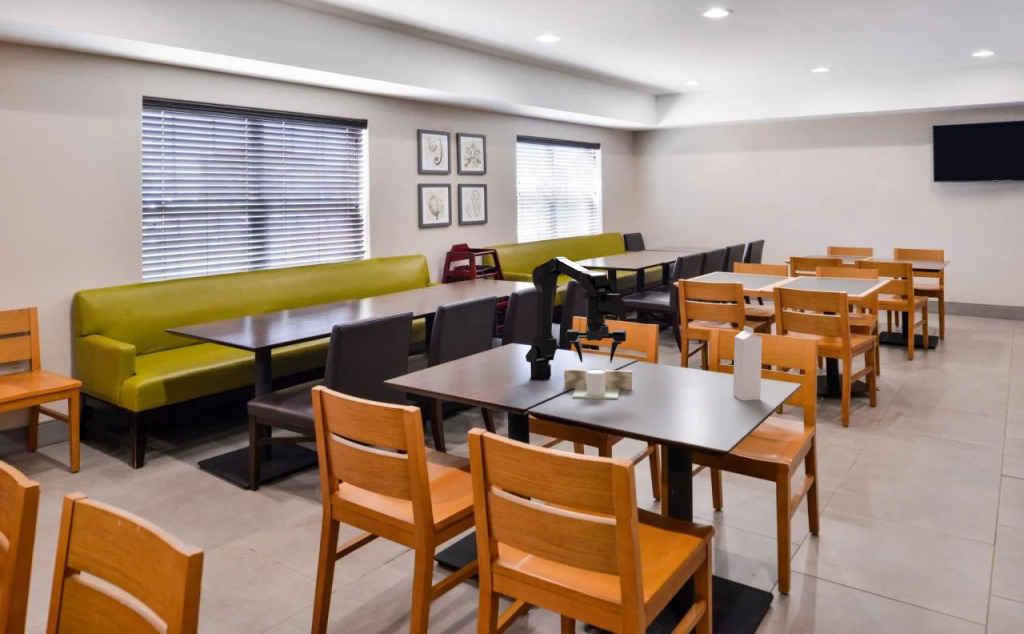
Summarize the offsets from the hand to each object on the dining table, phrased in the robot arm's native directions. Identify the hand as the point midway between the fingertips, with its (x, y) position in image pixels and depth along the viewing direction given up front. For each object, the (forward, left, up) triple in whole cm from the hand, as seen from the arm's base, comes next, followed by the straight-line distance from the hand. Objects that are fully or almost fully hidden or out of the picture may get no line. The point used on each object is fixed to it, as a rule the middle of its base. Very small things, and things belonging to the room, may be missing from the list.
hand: (596, 362), depth 229 cm
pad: (0, 0, -11) cm, 11 cm away
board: (0, +8, -11) cm, 13 cm away
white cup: (0, 0, -10) cm, 10 cm away
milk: (+46, +1, -11) cm, 47 cm away
